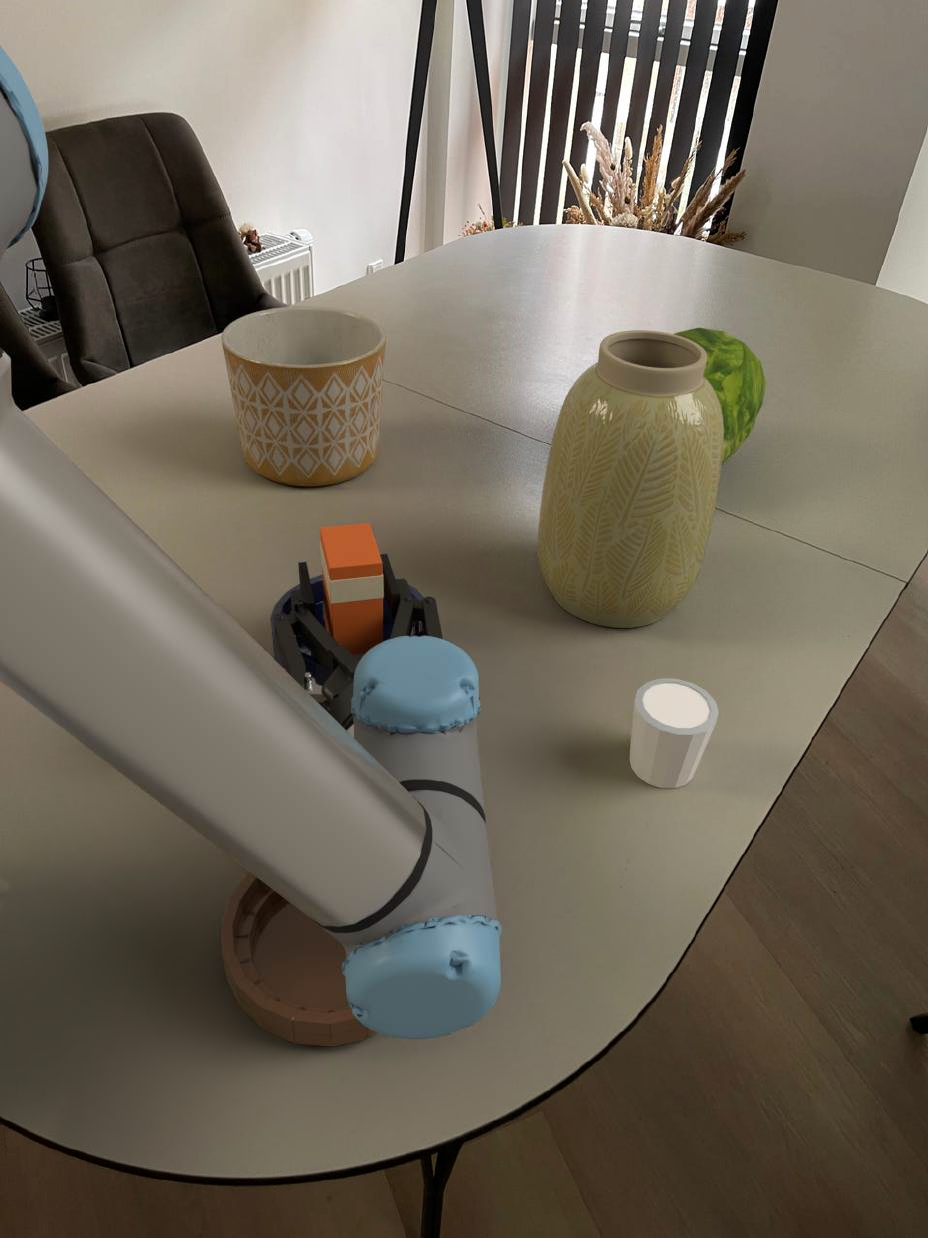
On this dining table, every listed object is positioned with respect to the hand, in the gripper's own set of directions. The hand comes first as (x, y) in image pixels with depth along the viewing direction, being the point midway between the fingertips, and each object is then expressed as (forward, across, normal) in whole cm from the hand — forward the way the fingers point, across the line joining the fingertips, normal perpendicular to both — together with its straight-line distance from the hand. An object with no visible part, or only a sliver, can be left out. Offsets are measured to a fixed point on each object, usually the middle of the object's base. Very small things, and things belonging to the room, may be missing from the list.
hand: (343, 570), depth 89 cm
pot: (-5, 0, -8) cm, 9 cm away
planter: (+37, +1, -8) cm, 38 cm away
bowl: (-35, -6, -8) cm, 36 cm away
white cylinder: (-23, +24, -8) cm, 34 cm away
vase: (+2, +29, -8) cm, 30 cm away
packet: (-5, 0, -7) cm, 9 cm away
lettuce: (+26, +47, -8) cm, 54 cm away
